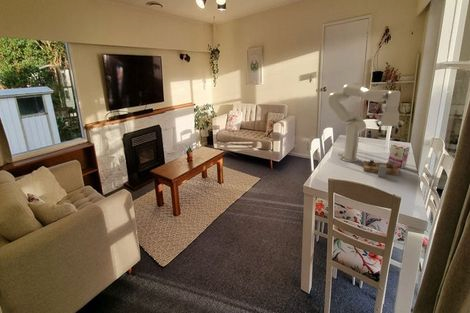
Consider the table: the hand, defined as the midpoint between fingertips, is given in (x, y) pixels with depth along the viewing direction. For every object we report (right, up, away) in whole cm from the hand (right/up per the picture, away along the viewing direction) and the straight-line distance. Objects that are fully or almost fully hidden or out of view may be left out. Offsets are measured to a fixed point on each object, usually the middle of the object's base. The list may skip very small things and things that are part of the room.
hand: (387, 133), depth 175 cm
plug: (-6, -31, -2) cm, 31 cm away
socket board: (0, -27, +9) cm, 28 cm away
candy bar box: (+15, -24, +14) cm, 32 cm away
